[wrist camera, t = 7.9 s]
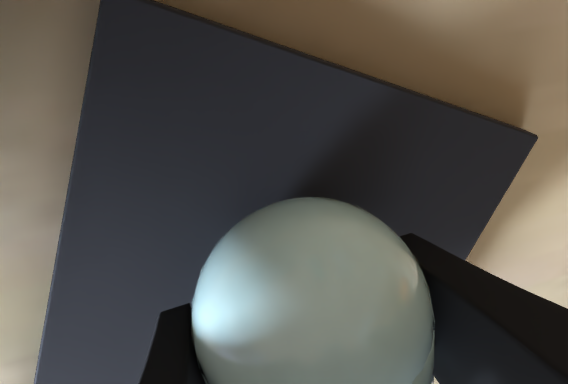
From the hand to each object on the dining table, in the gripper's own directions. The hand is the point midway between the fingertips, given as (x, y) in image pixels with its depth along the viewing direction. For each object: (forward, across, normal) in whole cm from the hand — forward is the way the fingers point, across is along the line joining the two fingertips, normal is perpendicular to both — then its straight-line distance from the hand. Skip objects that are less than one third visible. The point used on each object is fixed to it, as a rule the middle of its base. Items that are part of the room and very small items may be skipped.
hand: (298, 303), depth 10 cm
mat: (+1, 0, 0) cm, 1 cm away
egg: (-1, 0, 0) cm, 1 cm away
